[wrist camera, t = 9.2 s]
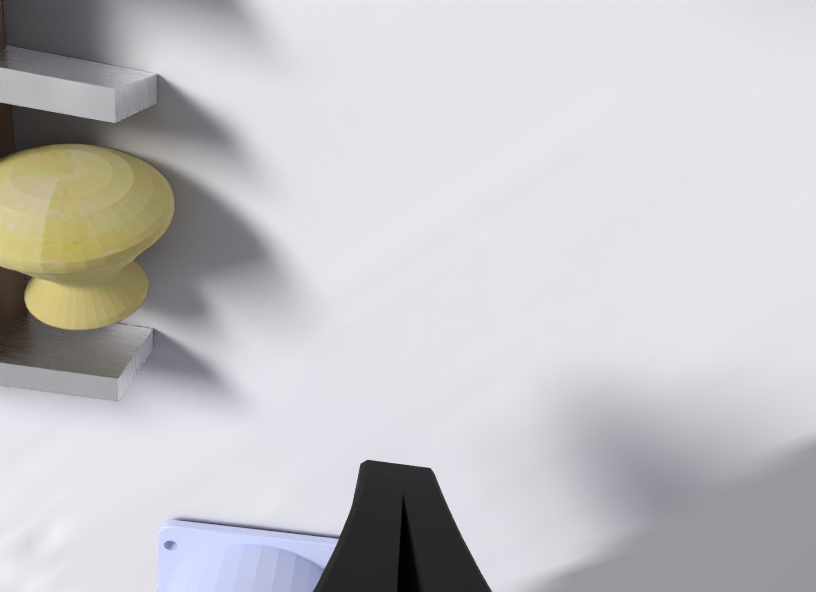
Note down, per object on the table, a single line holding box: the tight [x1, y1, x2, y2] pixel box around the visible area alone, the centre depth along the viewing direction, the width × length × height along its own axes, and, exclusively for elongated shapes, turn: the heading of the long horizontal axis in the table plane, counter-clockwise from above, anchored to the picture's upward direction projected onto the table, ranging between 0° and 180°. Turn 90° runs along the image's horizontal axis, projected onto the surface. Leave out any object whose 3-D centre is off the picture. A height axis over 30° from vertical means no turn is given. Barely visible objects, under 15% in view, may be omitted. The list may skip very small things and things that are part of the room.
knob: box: [0, 144, 174, 330], centre depth 17 cm, size 5×5×5 cm
